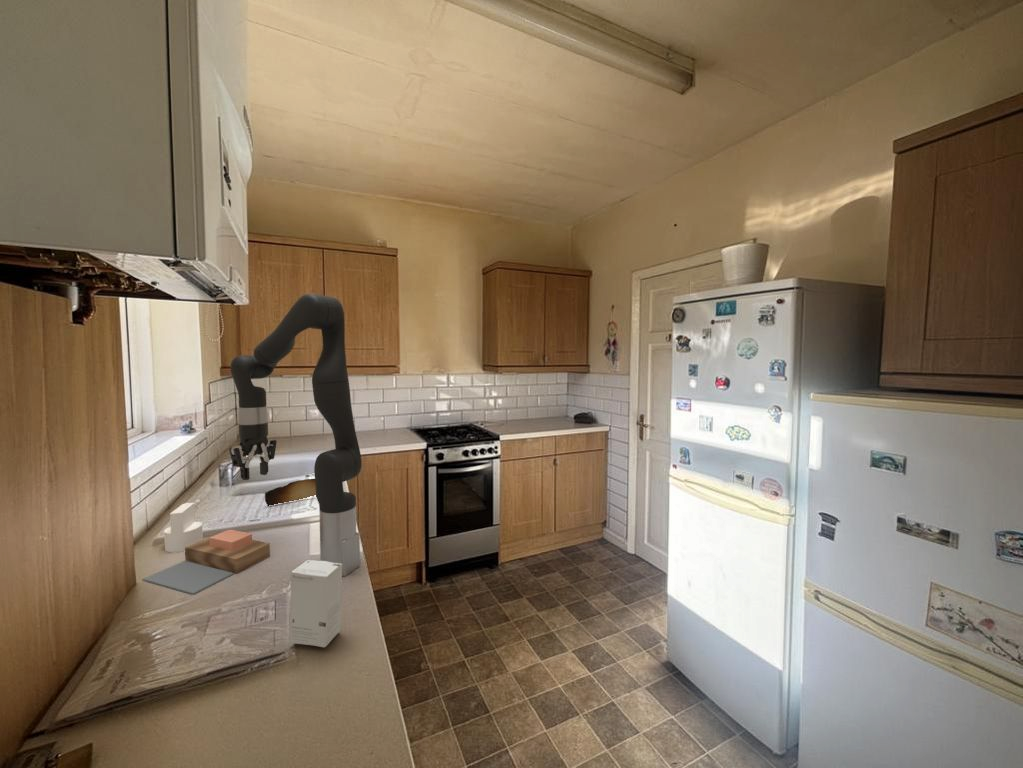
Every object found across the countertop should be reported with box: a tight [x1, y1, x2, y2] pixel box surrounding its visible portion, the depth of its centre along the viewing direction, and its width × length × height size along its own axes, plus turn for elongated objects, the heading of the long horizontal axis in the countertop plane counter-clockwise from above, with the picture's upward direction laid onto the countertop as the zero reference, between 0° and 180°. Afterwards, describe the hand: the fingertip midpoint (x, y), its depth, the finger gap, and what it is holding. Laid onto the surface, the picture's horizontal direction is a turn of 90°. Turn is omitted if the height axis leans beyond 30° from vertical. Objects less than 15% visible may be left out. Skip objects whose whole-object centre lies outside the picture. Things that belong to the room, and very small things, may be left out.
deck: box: [184, 537, 271, 575], centre depth 116 cm, size 20×10×4 cm, turn 71°
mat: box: [142, 560, 234, 596], centre depth 106 cm, size 19×10×1 cm, turn 71°
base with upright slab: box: [163, 502, 204, 553], centre depth 123 cm, size 9×9×12 cm
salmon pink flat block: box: [208, 529, 253, 551], centre depth 117 cm, size 9×6×2 cm, turn 71°
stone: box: [264, 478, 316, 507], centre depth 161 cm, size 25×10×1 cm
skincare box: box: [288, 559, 343, 648], centre depth 84 cm, size 8×6×15 cm
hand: (255, 476), depth 123 cm, fingers open, 5 cm apart
